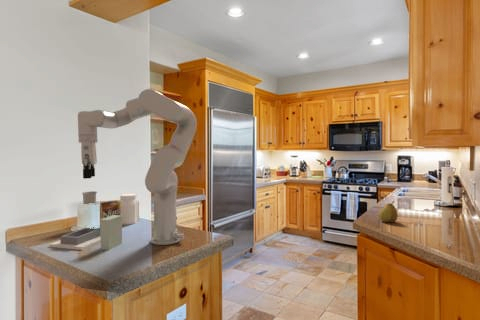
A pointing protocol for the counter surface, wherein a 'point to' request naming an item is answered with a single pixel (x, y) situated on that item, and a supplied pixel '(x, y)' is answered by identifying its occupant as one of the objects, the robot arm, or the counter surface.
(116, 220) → the pale green upright block
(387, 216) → the fruit
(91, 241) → the grey tray
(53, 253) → the counter surface
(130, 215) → the jar
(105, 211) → the candy box
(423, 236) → the counter surface
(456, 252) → the counter surface
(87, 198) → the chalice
